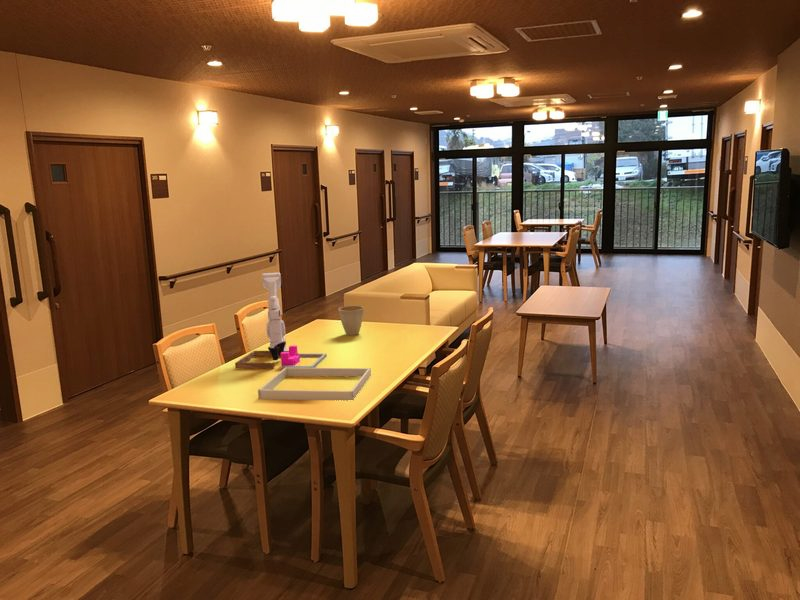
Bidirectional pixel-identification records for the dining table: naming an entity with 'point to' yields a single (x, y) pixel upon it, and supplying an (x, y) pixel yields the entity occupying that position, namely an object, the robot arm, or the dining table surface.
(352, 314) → the plant pot
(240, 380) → the dining table surface
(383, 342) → the dining table surface
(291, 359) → the toy block
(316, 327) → the dining table surface
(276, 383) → the frame
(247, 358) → the walnut stall
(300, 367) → the frame
